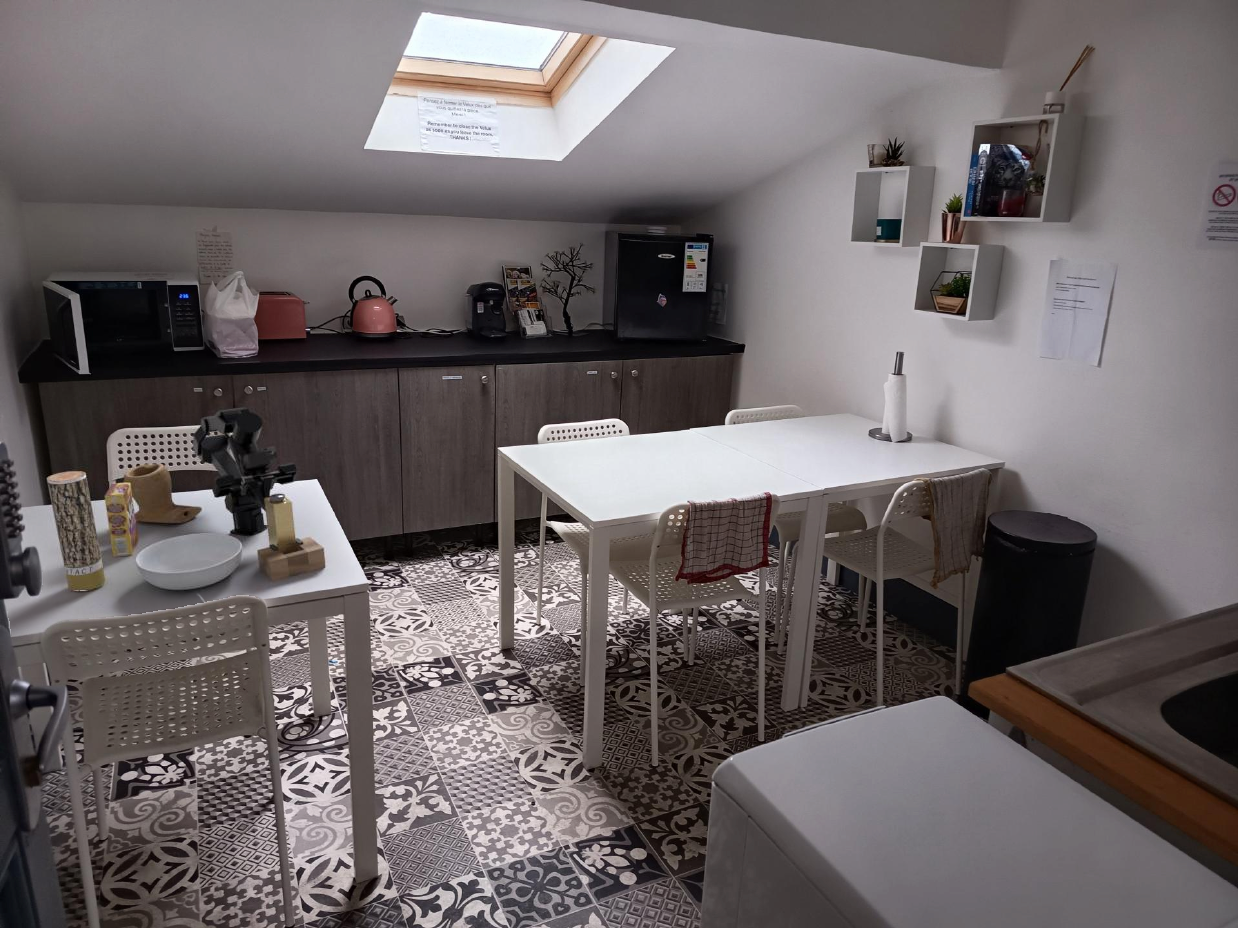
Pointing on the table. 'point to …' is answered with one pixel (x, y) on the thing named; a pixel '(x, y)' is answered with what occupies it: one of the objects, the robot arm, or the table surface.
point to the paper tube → (76, 530)
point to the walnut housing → (291, 559)
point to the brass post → (280, 523)
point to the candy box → (121, 519)
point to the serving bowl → (189, 560)
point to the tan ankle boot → (156, 495)
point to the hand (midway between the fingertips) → (267, 510)
